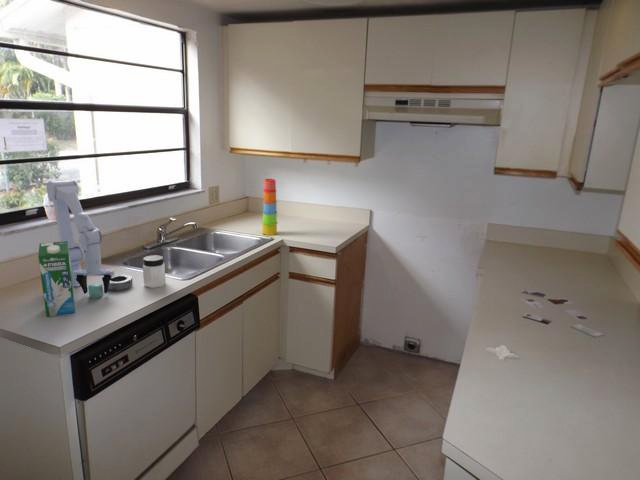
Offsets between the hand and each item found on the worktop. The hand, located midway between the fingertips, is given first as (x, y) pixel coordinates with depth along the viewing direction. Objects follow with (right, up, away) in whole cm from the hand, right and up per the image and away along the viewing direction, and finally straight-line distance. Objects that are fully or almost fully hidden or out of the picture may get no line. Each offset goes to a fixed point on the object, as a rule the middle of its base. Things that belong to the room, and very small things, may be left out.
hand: (96, 292), depth 177 cm
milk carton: (-6, -5, -13) cm, 15 cm away
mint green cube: (0, -1, 0) cm, 2 cm away
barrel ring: (+4, +1, +11) cm, 12 cm away
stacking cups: (+57, +25, +105) cm, 122 cm away
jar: (+18, +2, +15) cm, 23 cm away
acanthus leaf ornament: (+149, -17, -31) cm, 153 cm away
